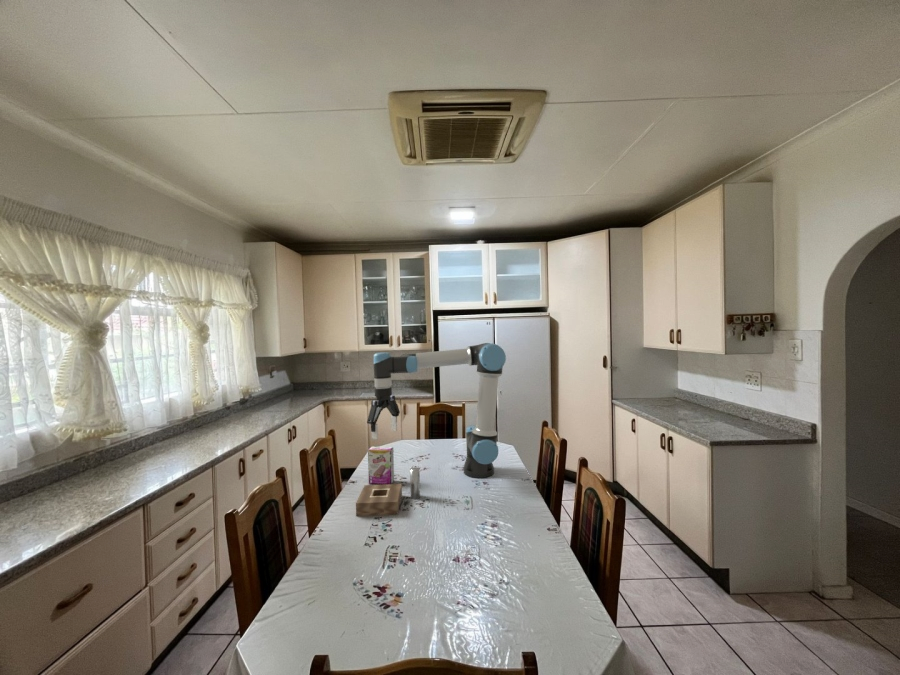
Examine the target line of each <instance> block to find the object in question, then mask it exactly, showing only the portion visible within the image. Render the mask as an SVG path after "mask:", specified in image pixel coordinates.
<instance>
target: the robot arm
mask: <svg viewBox="0 0 900 675" xmlns="http://www.w3.org/2000/svg"><path fill="white" fill-rule="evenodd" d="M506 360H507V357H506V352H505V351H504V349H503V348H502V347H501V346H500V345H498V344H496V343H489V342H484V343H479V344H476V345H469V346H467V347H466V348H460V349H459V348H458V349H447V350H446V349H445V350H438V351H428V352H417V353H416V352H415V353H403V354H401V355H399V356H392V355H391V353H390V352H376V353H374V354H373V377H374V378H373V379H374V397H376V400H374V399H373V400H371V403H370V404H371V406H370V409H369V411H368V412H369V413H368V416H367V419H366V423H367V424H368V425H370V432H371V439H372V440H378V439H379V433H378V432H379V430H378V428H379V427H378V423H377V422H378V420H379V418H380V415H381V412H382V411H383V410H384V409H387V411H388V412H389V413H390V415H391V416H390V430H391V431H394V432H397V430H398V426H397V425H398V417H399V416H400V413H401V412H400V408H399V407H398V406H399V405H398V403H397V401H396V396H395V395H394V394H393V391H392V390H393V389H392V384H393V383H392V375H393V374H412V373H414V374H415V373H417V372H418V369H427V368H430V369H431V368H437V367H449V366H461V365H468V366H470V367H472V366H476V373H477V374H478V376H479V378H478V379H479V381H478V391H477V392H478V394H477V405H476V417H475V418H476V419H475V425H469V426H467V427H466V429H465V430H466V431H465V434H466V436H465V437H466V439H465V440H466V441H465V442H466V458H465V462H464V466H463V474H464V475H465V476H468V477H470V478H475V479H482V478H483V479H484V478H488V477H491V476H493V475H494V473H495V467H494V464H493V462H494V461H495V460H497V458H498V456H499V446H498V444H497V443H498V432H497V431H496V429H495V426H496V425H495V424H496V423H495V422H496V414H497V401H498V400H497V398H498V388H499V387H498V386H499V378H500V376H502V374H503V367H504V365H505V363H506Z"/></svg>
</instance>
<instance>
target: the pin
mask: <svg viewBox="0 0 900 675" xmlns="http://www.w3.org/2000/svg"><path fill="white" fill-rule="evenodd" d="M409 479H410V480H409V481H410V482H409V484H410V499H412V500H419V498H421V485H420V484H421V482H420V480H421V476H420V468H419V467H415V466H414V467H411V468H410V469H409Z"/></svg>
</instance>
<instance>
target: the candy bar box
mask: <svg viewBox="0 0 900 675" xmlns="http://www.w3.org/2000/svg"><path fill="white" fill-rule="evenodd" d="M367 454H368V455H367V457H368V458H367V459H368V460H367V462H368V463H367V464H368V485H385V484H394V481H395V469H394V468H395V467H394V466H395V464H394V463H395V462H394V447H393V446H370V447H369V448H368V449H367Z"/></svg>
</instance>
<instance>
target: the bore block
mask: <svg viewBox="0 0 900 675" xmlns="http://www.w3.org/2000/svg"><path fill="white" fill-rule="evenodd" d="M402 485H403V484H402V483H392V484H364V485H363V487H362V490H361V491H360V493H359V496H358V498H357V500H356V502H355V516H356V517H366V516H367V517H368V516H369V517H370V516H389V515H393V516H394V515H395V516H396V515H399V511H400V505H401V501H402V498H403V497H402V496H403V489H402V488H403V487H402Z"/></svg>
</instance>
